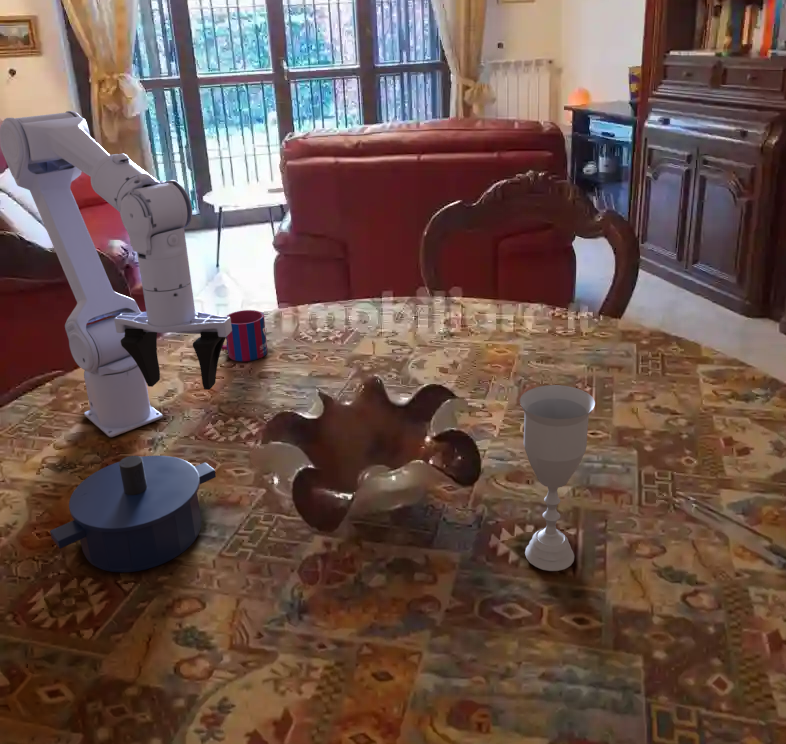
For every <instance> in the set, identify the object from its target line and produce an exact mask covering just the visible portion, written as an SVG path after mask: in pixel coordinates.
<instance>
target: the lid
mask: <svg viewBox="0 0 786 744" xmlns="http://www.w3.org/2000/svg"><path fill="white" fill-rule="evenodd" d="M200 485H201V484H200V479H199V474H198V472H197V470H196V469H195V466H194V465H193V464H192V463H190V462H188V461H187V460H186V459H185V460H184V459H182V458H180V457H176V456H170V455H143V456H139V455H129V456H125V457H123V458H122V459H121V460H119V461H116V462H114V463H112V464H109V465H107V466H104V467H103V468H101V469H99V470H97V471H95V472H93V473H92V474H90V475H88V476H87V477H86V478H85V479H83V480H82V481H81V482H80V483H79V484H78V485H77V487H76V488H75V489H74V490H73V491H72V493H71V495H70V498H69V501H68V508H69V513H70V516H71V518H72V520H75V521H76V522H77V523H78V524H79V525H81V526H83V527H85V528H88V529H91V530H95V531H101V532H124V531H131V530H136V529H141V528H144V527H148V526H151V525H154V524H156V523H159V522H161V521H163V520H166V519H168V518H170V517H171V516H173V515H175V514H176V513H178V512H179V511H181V510H182V509H183V508H185V507H186V506H187V505H188V504H189V503H190V502H191V501H192V500H193V498H194V497H195V496H196V494H197V495H198V492H199V490H200Z"/></svg>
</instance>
